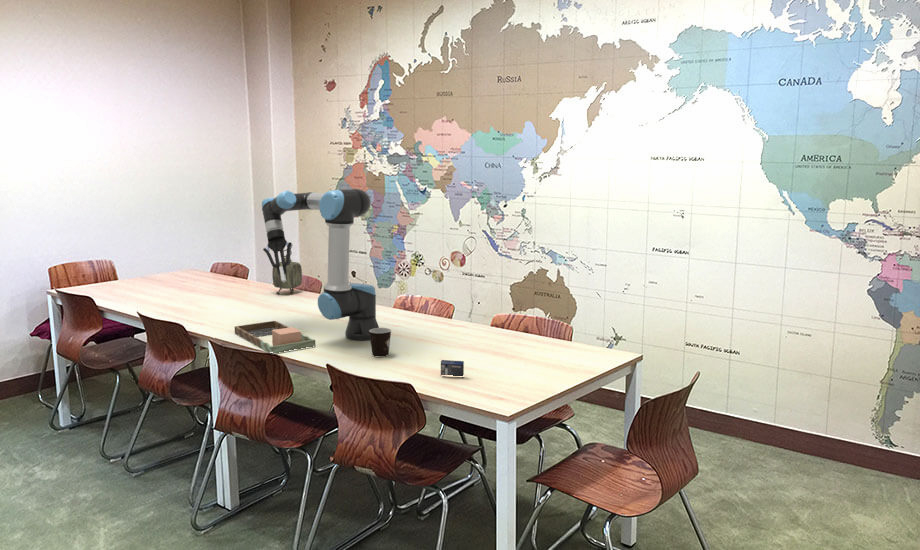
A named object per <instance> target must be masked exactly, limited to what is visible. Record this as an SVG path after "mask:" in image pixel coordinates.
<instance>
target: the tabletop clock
mask: <svg viewBox="0 0 920 550" xmlns="http://www.w3.org/2000/svg"><path fill="white" fill-rule="evenodd" d="M284 252H287V248H286V249H284ZM292 254H293V253H292V251H291V255H292ZM286 255H287V253H286V254H285V255H284V257H285V262H286ZM292 260H293V259H292V258H290V265H287V266H286V269H287V274H285V276H286V282H282V280H281V275H279V274H278V271H277V268H274V267H273V266H272V275H271V276H272V284H273V286H274V288H279V290H278V291H276V295H277V296H279V295H280V291H282V290H283V289H285V290H289V295H293V293H294V291H295V289H294V288H297V287H299V286H301V285H302V283H303V271H302V270H303V269H302V268H303V267H302V265H301V263H299V262H297V261H292ZM279 262H280V267H281V266H283V265H282V261H279ZM274 263H275V265H276V262H274Z"/></svg>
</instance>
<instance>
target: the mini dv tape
mask: <svg viewBox="0 0 920 550" xmlns="http://www.w3.org/2000/svg"><path fill="white" fill-rule="evenodd" d="M464 365H465V362H464V361H463V360H452V359H451V360H446V359H440V376H441V375H453V376H463V375H465V368H464Z"/></svg>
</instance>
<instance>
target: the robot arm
mask: <svg viewBox="0 0 920 550" xmlns="http://www.w3.org/2000/svg"><path fill="white" fill-rule="evenodd" d="M371 204H372V202H371V198H370V195H369V194H368V193H367V192H366V191H365V190H362V189H359V188H352V189H349V188H347V189H334V190H329V191H326V192H299V193H294V192H292V191H290V190H284V191H282V192H280V193H279V194H278V195H277V196H276V197H268V198H265V199H263V200H262V201H261V210H262V211H261V212H262V215H263V221H264V226H265V232H266V239H267V245H266V247H264V248H263V249H262V250H263V251H264V253H265V254H266V256H267V258H268V260H269V262H270V264H271V266H272V268H273V267H274V268H277V271H278V274H279V275H281V280H282V282H286V276H285V274H287V269H286V266H287V265H290V259H291V255H292V254H291V252H292V248H293V244H292V242H289V241H287V240H286V237H285V231H284V226H283V221H282V215H283V214H285V213H286V212H290V211H301V210H311V211H312V210H315V211H316V210H317V211H318V210H319V213H320V216H321V217H322V219H324V222H325V224H326V225H327V227H328V241H327V243H328V244H327V246H328V248H327V282H326V284H325V285H324V286H323V292H322V293H321V294H319V296H318V298H317V307H318V310H319V312H320V313H321V315H322V316H323V317H324V319H327V320H331V321H332V320H339V319H340V320H341V319H343V318H347V317H348V322H347V324H346V329H345V333H344V334H345V338H347V340H351V339H352V340H351V341H371V340H370V332H369V330H371V329H374V328H380V327H379V323H378V321H377V310H376V308H377V306H376V305H377V304H376V301H377V300H376V299H377V295H376V294H377V293H376V288H375V286H374V285H373V284H372V285H371V284H366V283H350V282H349V269H350V263H349V262H350V234H351V232H350V230H351V229H350V228H351V226H352V225H354V224H355V223H354V221H355V220H354V219H355V218H357V217H363V216H364V215H365V214H367V213H368V212H369V210H370V207H371ZM285 248H286V249H287V251H286V254H287V255H286V254H285V251H284V250H285ZM271 251H272V252H273V254H274V255H273V256H274V258H273V257H272V255H271V253H270V252H271ZM279 254H280V255H279ZM279 256H280V257H279ZM284 256H286V257H284ZM285 258H286V262H285ZM280 260H281V261H280ZM280 262H282V265H283V266H281V267H280ZM275 263H276V265H275Z"/></svg>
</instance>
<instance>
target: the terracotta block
mask: <svg viewBox="0 0 920 550" xmlns="http://www.w3.org/2000/svg"><path fill="white" fill-rule="evenodd" d="M301 333H302V331H300V329H297V328H295V327H294V326H291V327H289V328H283V329H276V328H275V330H272V335H271V336H272V337H271V339H272V346H277V345H284V344H290V343H296V342H302V341H301Z"/></svg>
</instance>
